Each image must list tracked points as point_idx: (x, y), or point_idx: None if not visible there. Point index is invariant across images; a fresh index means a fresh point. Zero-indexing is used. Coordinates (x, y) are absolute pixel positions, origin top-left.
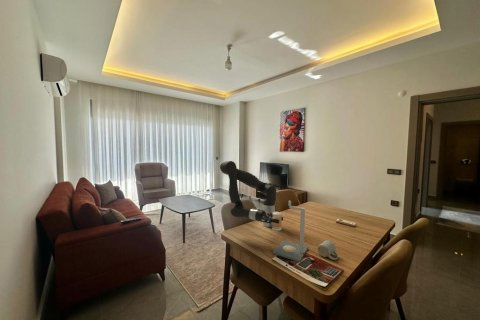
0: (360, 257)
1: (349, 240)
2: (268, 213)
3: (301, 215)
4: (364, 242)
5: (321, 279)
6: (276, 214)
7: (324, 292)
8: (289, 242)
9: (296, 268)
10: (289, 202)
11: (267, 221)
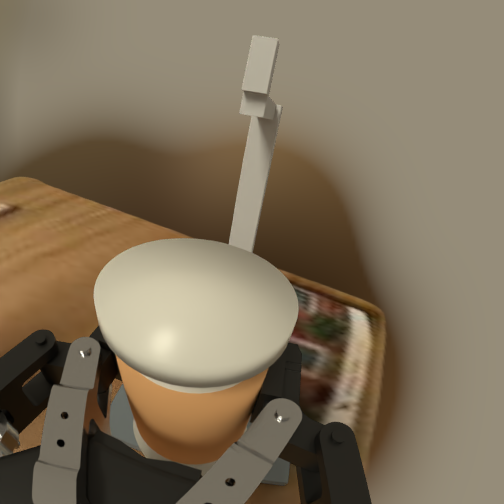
0: (181, 236)
1: (85, 229)
2: (35, 485)
3: (270, 158)
4: (99, 214)
5: (344, 316)
6: (277, 295)
7: (383, 314)
8: (124, 400)
9: (341, 373)
10: (276, 55)
11: (308, 500)
